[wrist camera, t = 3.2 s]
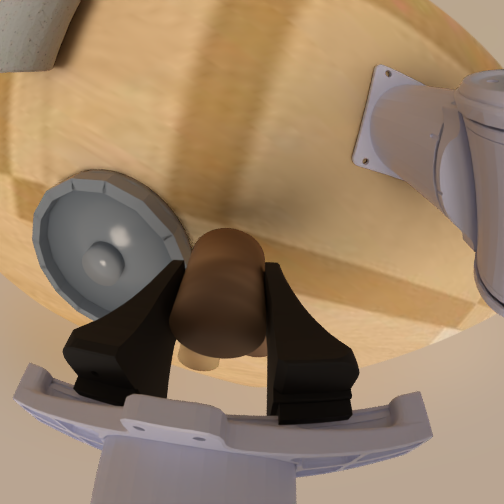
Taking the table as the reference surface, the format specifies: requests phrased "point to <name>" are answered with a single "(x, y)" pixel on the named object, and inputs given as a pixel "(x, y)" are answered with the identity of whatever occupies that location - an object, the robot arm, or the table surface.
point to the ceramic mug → (32, 33)
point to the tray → (104, 239)
